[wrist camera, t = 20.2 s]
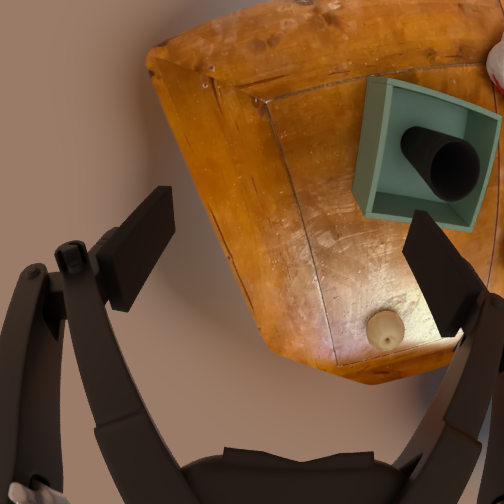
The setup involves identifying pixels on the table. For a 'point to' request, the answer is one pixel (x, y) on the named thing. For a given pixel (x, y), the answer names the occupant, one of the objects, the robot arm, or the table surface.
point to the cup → (442, 162)
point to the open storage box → (400, 169)
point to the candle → (497, 65)
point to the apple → (385, 330)
